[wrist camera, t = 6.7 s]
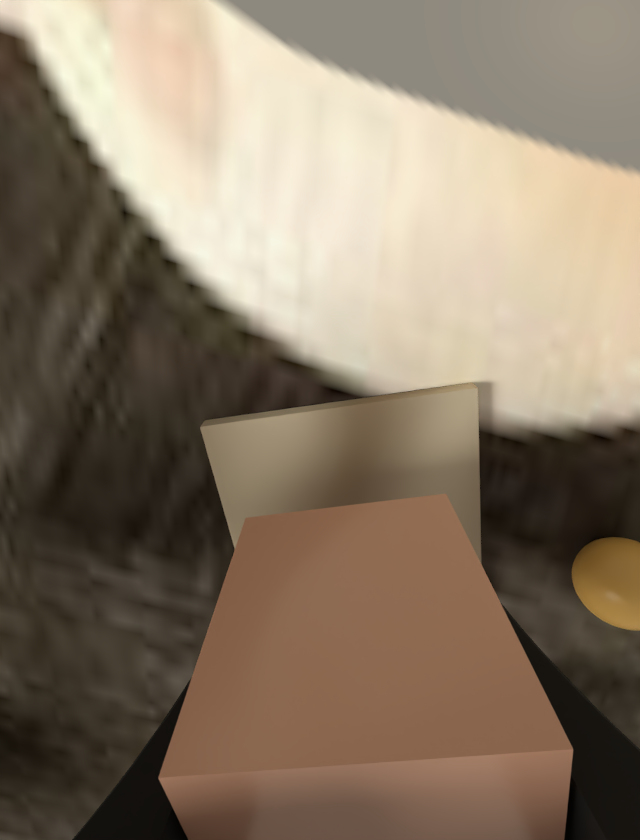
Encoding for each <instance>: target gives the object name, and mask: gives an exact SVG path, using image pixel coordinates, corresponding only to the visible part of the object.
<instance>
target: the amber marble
mask: <svg viewBox="0 0 640 840" xmlns="http://www.w3.org/2000/svg"><path fill="white" fill-rule="evenodd" d="M572 581H573V585H574V588H575V591H576V593H577V595H578V597H579V598H580V600H581V601H582V603H583V604H584V605H585V606H586V607H587V608H588V610H590V611H591V612H592V613H593V614H594V615H595V616H597V617H598V618H600V619H601V620H603V621H605V622H607V623H609V624H611V625H613V626H616V627H619V628H622V629H628V630H640V542H637V541H635V540H631V539H627V538H621V537H607V538H601V539H597V540H595V541H592V542H590V543H589V544H587V545H586V546H584V547H583V548H582V549H581V550H580V551H579V552H578V554H577V556H576V557H575V559H574V562H573V566H572Z"/></svg>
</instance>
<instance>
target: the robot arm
mask: <svg viewBox="0 0 640 840" xmlns="http://www.w3.org/2000/svg"><path fill="white" fill-rule="evenodd" d="M501 605H502V604H501ZM502 607H503V609H504V611H505V613H506V615H507V617H508V619H509V621H510V623H511V625H512V627H513V629H514V631H515V633H516V635H517V637H518V639H519V641H520V643H521V645H522V647H523V649H524V651H525V653H526V655H527V657H528V659H529V661H530V663H531V665H532V667H533V669H534V671H535V673H536V675H537V677H538V679H539V681H540V683H541V685H542V687H543V689H544V691H545V693H546V695H547V697H548V699H549V701H550V703H551V705H552V707H553V709H554V711H555V713H556V715H557V717H558V719H559V721H560V724H561V726H562V728H563V730H564V732H565V734H566V736H567V738H568V740H569V742H570V744H571V746H572V748H573V757H572V767H571V777H570V787H569V797H568V807H567V817H566V827H565V837H564V840H640V749H639V748H638V747H637V746H635V745H634V744H633V743H632V742H631V741H630V740H629V739H628V738H627V737H626V736H625V735H624V734H623V733H622V732H621V731H620V730H619V729H617V728H616V727H615V726H614V725H613V724H612V723H611V722H610V721H609V720H608V719H607V718H606V717H605V716H604V715H603V714H602V713H601V712H600V711H599V710H598V709H597V708H596V707H595V706H594V705H593V704H592V703H591V702H590V701H589V700H588V699H587V698H586V697H585V696H584V695H583V694H582V693H581V692H580V691H579V690H578V689H577V688H576V687H575V686H574V685H573V684H572V683H571V682H570V681H569V680H568V678H567V677H566V676H565V675H564V674H563V673H562V672H561V671H560V670H559V669H558V668H557V667H556V666H555V665H554V664H553V663H552V662H551V661H550V659H549V658H548V657H547V656H546V655H545V654H544V653H543V652H542V651H541V650H540V648H539V647H538V646H537V645H536V644H535V643H534V642H533V641H532V639H531V638H530V637H529V636H528V635H527V634H526V633H525V631H524V630H523V629H522V628H521V627H520V626H519V624H518V623H517V622H516V621H515V620H514V618H513V617H512V616H511V615H510V614H509V612H508V611H507V610H506V609H505V607H504V606H503V605H502ZM191 679H192V678H191ZM191 679H190V681H189V682H188V684H187V685H186V687H185V689H184V690H183V692H182V693H181V695H180V696H179V698H178V699H177V701H176V702H175V704H174V705H173V707H172V708H171V710H170V711H169V713H168V714H167V716H166V717H165V719H164V720H163V722H162V723H161V725H160V726H159V728H158V729H157V730H156V732H155V733H154V735H153V736H152V737H151V739H150V740H149V742H148V743H147V744H146V746H145V747H144V749H143V750H142V751H141V753H140V754H139V756H138V757H137V759H136V760H135V761H134V763H133V764H132V765H131V767H130V768H129V769H128V771H127V772H126V773H125V775H124V776H123V777H122V779H121V780H120V781H119V783H118V784H117V785H116V787H115V788H114V789H113V790H112V792H111V793H110V794H109V796H108V797H107V798H106V799H105V801H104V802H103V803H102V804H101V806H100V807H99V808H98V809H97V811H96V812H95V813H94V814H93V816H92V817H91V818H90V819H89V820H88V822H87V823H86V824H85V825H84V826H83V828H82V829H81V830H80V831H79V832H78V834H77V835H76V836H75V837H74V838H73V839H72V840H188V838H187V836H186V834H185V832H184V830H183V828H182V826H181V824H180V822H179V820H178V818H177V816H176V814H175V811H174V809H173V807H172V805H171V803H170V801H169V799H168V797H167V795H166V793H165V791H164V789H163V787H162V785H161V783H160V781H159V778H158V777H159V774H160V771H161V768H162V765H163V762H164V759H165V756H166V753H167V750H168V747H169V744H170V741H171V738H172V735H173V732H174V729H175V726H176V723H177V720H178V717H179V715H180V712H181V709H182V706H183V703H184V700H185V697H186V694H187V691H188V688H189V685H190V682H191Z"/></svg>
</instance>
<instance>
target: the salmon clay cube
mask: <svg viewBox="0 0 640 840" xmlns="http://www.w3.org/2000/svg"><path fill="white" fill-rule="evenodd" d="M572 757H573V748H572V746H571V744H570V742H569V740H568V738H567V736H566V734H565V732H564V730H563V728H562V726H561V724H560V721H559V719H558V717H557V715H556V713H555V711H554V709H553V707H552V705H551V703H550V701H549V699H548V697H547V695H546V693H545V691H544V689H543V687H542V685H541V683H540V681H539V679H538V677H537V675H536V673H535V671H534V669H533V667H532V665H531V663H530V661H529V659H528V657H527V655H526V653H525V651H524V649H523V647H522V645H521V643H520V641H519V639H518V637H517V635H516V633H515V631H514V629H513V627H512V625H511V623H510V621H509V619H508V617H507V615H506V613H505V611H504V609H503V607H502V605H501V603H500V601H499V599H498V597H497V595H496V593H495V591H494V589H493V587H492V585H491V583H490V581H489V579H488V577H487V575H486V573H485V571H484V569H483V567H482V565H481V563H480V561H479V559H478V557H477V555H476V553H475V551H474V549H473V547H472V545H471V543H470V541H469V539H468V537H467V535H466V533H465V531H464V529H463V527H462V525H461V523H460V521H459V519H458V516H457V514H456V512H455V510H454V508H453V506H452V504H451V502H450V500H449V498H448V496H447V494H438V495H430V496H422V497H413V498H405V499H397V500H388V501H380V502H372V503H363V504H355V505H347V506H339V507H330V508H322V509H314V510H305V511H297V512H289V513H281V514H272V515H264V516H256V517H247V518H245V521H244V524H243V527H242V530H241V533H240V536H239V539H238V542H237V545H236V548H235V551H234V554H233V557H232V560H231V563H230V566H229V569H228V572H227V575H226V577H225V580H224V583H223V586H222V589H221V592H220V595H219V598H218V601H217V604H216V607H215V610H214V613H213V616H212V619H211V622H210V625H209V628H208V631H207V634H206V637H205V640H204V643H203V646H202V649H201V652H200V655H199V658H198V661H197V664H196V667H195V670H194V673H193V676H192V679H191V682H190V685H189V688H188V691H187V694H186V697H185V700H184V703H183V706H182V709H181V712H180V715H179V717H178V720H177V723H176V726H175V729H174V732H173V735H172V738H171V741H170V744H169V747H168V750H167V753H166V756H165V759H164V762H163V765H162V768H161V771H160V774H159V777H158V778H159V781H160V783H161V785H162V787H163V789H164V791H165V793H166V795H167V797H168V799H169V801H170V803H171V805H172V807H173V809H174V811H175V814H176V816H177V818H178V820H179V822H180V824H181V826H182V828H183V830H184V832H185V834H186V836H187V838H188V840H564V837H565V827H566V817H567V807H568V797H569V787H570V777H571V767H572Z"/></svg>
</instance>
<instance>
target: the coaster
mask: <svg viewBox="0 0 640 840" xmlns="http://www.w3.org/2000/svg"><path fill="white" fill-rule="evenodd" d="M200 429H201V432H202V436H203V439H204V443H205V446H206V450H207V453H208V457H209V460H210V464H211V468H212V471H213V475H214V478H215V482H216V485H217V489H218V492H219V496H220V499H221V503H222V506H223V510H224V513H225V517H226V520H227V524H228V527H229V531H230V534H231V538H232V541H233V545H234V548H236V545H237V542H238V539H239V536H240V533H241V530H242V527H243V524H244V521H245V518H247V517H256V516H264V515H272V514H281V513H289V512H297V511H305V510H314V509H322V508H330V507H339V506H347V505H355V504H363V503H372V502H380V501H388V500H397V499H405V498H413V497H422V496H430V495H438V494H447V496H448V498H449V500H450V502H451V504H452V506H453V508H454V510H455V512H456V514H457V516H458V519H459V521H460V523H461V525H462V527H463V529H464V531H465V533H466V535H467V537H468V539H469V541H470V543H471V545H472V547H473V549H474V551H475V553H476V555H477V557H478V559H479V561H480V563H481V518H480V466H479V413H478V388H477V387H476V386H475V385H474V384H473V383H466V384H459V385H452V386H445V387H438V388H430V389H423V390H416V391H409V392H402V393H395V394H388V395H381V396H374V397H366V398H359V399H352V400H345V401H338V402H331V403H324V404H317V405H310V406H302V407H295V408H288V409H281V410H274V411H267V412H260V413H253V414H246V415H239V416H231V417H224V418H217V419H210V420H205V421H204V422H203V424H202V425H201V426H200Z"/></svg>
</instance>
